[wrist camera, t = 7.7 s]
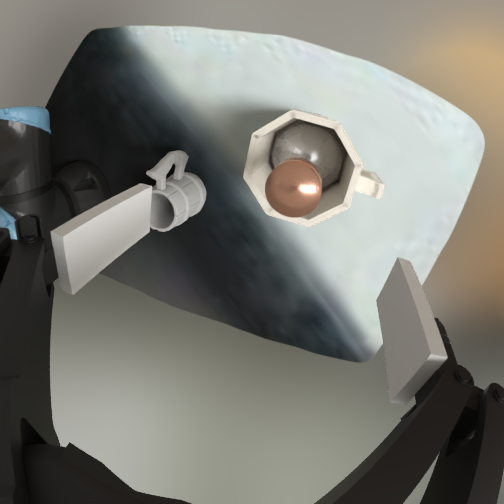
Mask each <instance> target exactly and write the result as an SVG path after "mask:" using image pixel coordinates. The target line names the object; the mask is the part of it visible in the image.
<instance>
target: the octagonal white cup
mask: <svg viewBox="0 0 504 504" xmlns="http://www.w3.org/2000/svg"><path fill="white" fill-rule="evenodd" d="M302 124H309V125H315V126H318V127H321V128H323V129H325V130H326V131H327V132H329V133H330V134H331V135H332V136H333V137H334V139H335V140H336V142H337V143H338V145H339V148H340V151H341V159H342V161H341V167H340V171H339V173H338V175H337V177H336V178H335V179H334V181H333V182H332V183H331V184H329V185H328V186H327V187H325V188H323V189H322V191H321V198H320V201H319V203H318V205H317V207H316V208H315V209H314V210H313V211H312V212H311V213H309V214H307V215H305V216H302V217H297V218H292V217H286V216H284V215H281V214H279V213H278V212H276V211H275V210H274V209H273V208H272V207H271V206H270V204H269V203H268V201H267V198H266V195H265V183H266V180H267V178H268V176H269V174H270V173H271V172H272V171H273V170H274V164H273V149H274V146H275V144H276V141H277V140H278V138H279V137H280V136H281V135H282V134H283V133H284V132H285V131H286V130H288V129H290V128H292V127H294V126H297V125H302ZM362 167H363V164H362V162H361V160H360V158H359V156H358V155H357V153H356V151H355V149H354V147H353V145H352V144H351V142H350V140H349V138H348V136H347V135H346V133H345V131H344V129H343V128H342V126H341V124H340V123H339V122H337V121H335V120H331V119H329V118H327V117H325V116H322V115H319V114H314V113H307V112H303V111H297V110H291V111H289V112H287V113H285V114H284V115H282V116H280V117H279V118H277V119H275V120H274V121H272V122H270V123H269V124H267V125H265V126H264V127H262V128H260V129H259V130H257V131H255V132H254V133H252V136H251V141H250V146H249V150H248V155H247V160H246V165H245V169H244V174H243V178H244V180H245V181H246V183H247V184H248V186H249V187H250V189H251V190H252V192H253V194H254V195H255V197H256V198H257V200H258V202H259V203H260V205H261V206H262V208H263V210H264V211H265V213H266V214H267V215H270V216H273V217H277V218H280V219H283V220H287V221H290V222H293V223H297V224H300V225H303V226H307V227H311V226H313V225H315V224H317V223H319V222H321V221H324V220H326V219H328V218H330V217H332V216H334V215H336V214H338V213H340V212H342V211H344V210H346V209H348V208H349V207H350V204H351V201H352V198H353V195H354V192H355V191H358V192H361V193H364V194H367V195H370V196H372V197H375V198H378V199H381V197H382V194H383V191H384V188H385V184H384V182H383V181H382V180H381V179H380V177H379V176H378V175H377V174H376V173H374V172H372V171H369V170H366V169H363V168H362Z"/></svg>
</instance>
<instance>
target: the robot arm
mask: <svg viewBox="0 0 504 504" xmlns="http://www.w3.org/2000/svg"><path fill="white" fill-rule="evenodd" d="M50 134H51V130H50V118H49V112H48V110H47V109H45V108H43V107H38V106H23V107H11V108H1V109H0V504H191V503H188V502H185V501H182V500H177V499H171V498H165V497H160V496H155V495H150V494H145V493H141V492H137V491H135V490H133V489H132V488H131V487H129V486H128V485H127V484H126V483H124V482H123V481H122V480H121V479H120V478H118V477H117V476H116V475H115V474H114V473H113V472H111V470H109V469H108V468H107V467H106V466H105V465H104V464H103V463H102V462H100V461H98V460H97V459H95V458H93V457H92V456H90V455H88V454H87V453H85V452H84V451H82V450H80V449H79V448H77V447H76V446H74V445H73V444H71V443H69V444H68V445H67V447H62V446H60V443H59V440H58V437H57V434H56V432H55V430H54V426H53V420H52V409H51V394H50V334H51V317H52V306H53V297H54V284H53V281H55V280H56V279H57V278H59V283H60V288H61V289H62V290H64V291H65V292H67V293H69V294H71V295H74V294H75V293H76V292H77V291H78V290H79V289H80V288H82V287H83V286H84V285H85V284H86V283H87V282H88V281H90V280H91V279H92V278H93V277H94V276H95V275H97V274H98V273H99V272H100V271H101V270H103V269H104V268H105V267H106V266H107V265H109V264H110V263H111V262H112V261H113V260H115V259H116V258H117V257H118V256H120V255H121V254H122V253H123V252H124V251H126V250H127V249H128V248H129V247H131V246H132V245H133V244H135V243H136V242H137V241H138V240H140V239H141V238H142V237H143V236H145V235H146V234H147V233H149V232H150V213H151V197H152V186H150V185H146V184H142V183H140V184H138V185H136V186H134V187H132V188H130V189H128V190H126V191H124V192H122V193H120V194H118V195H116V196H114V197H112V198H110V192H109V188H108V185H107V182H106V180H105V178H104V176H103V175H102V173H101V172H100V170H99V169H98V168H97V167H96V166H95V165H93V164H92V163H90V162H88V161H83V160H80V161H76V162H73V163H70V164H68V165H67V166H65V167H64V168H63V169H62V170H61V171H60V172H58V173H57V174H56V175H55V176H54V177H53V178H52V170H51V150H50ZM376 301H377V307H378V313H379V319H380V325H381V331H382V338H383V345H384V352H385V360H386V367H387V377H388V387H389V399H390V402H392V403H398V404H407V403H408V402H409V401H410V400H411V399H412V398H413V397H414V396H415V399H416V404H415V405H414V406H413V407H412V408H411V409H410V410H409V411H408V412H407V413H406V414H405V415H404V416H403V417H402V418H401V422H400V423H399V424H398V425H397V426H396V427H395V428H394V429H393V431H392V432H391V433H390V434H389V435H388V436H387V437H386V438H385V439H384V441H383V442H382V443H381V444H380V445H379V446H378V447H377V448H376V449H375V450H374V451H373V452H372V453H371V454H370V455H369V456H368V457H367V458H366V459H365V460H364V461H363V462H362V463H361V464H360V465H359V466H358V467H357V468H356V469H355V470H354V471H353V472H351V474H349V475H348V476H347V477H346V478H345V479H344V480H342V481H341V482H340V483H339V484H338V485H337V486H335V487H334V488H333V489H332V490H331V491H330V492H328V493H327V494H326V495H325V496H323V497H322V498H321V499H320V500H318V501H317V502H316V503H314V504H403V503H404V501H405V500H406V499H407V498H408V496H409V495H410V494H411V493H412V491H413V490H414V488H415V487H416V486H417V484H418V483H419V482H420V480H421V479H422V478H423V476H424V475H425V473H426V472H427V471H428V469H429V468H430V466H431V465H432V463H433V462H434V460H435V458H436V457H437V455H438V454H439V456H438V459H437V462H436V465H435V467H434V471H433V473H432V476H431V478H430V481H429V483H428V486H427V489H426V491H425V493H424V495H423V498H422V500H421V502H420V504H496V503H497V499H498V495H499V490H500V485H501V481H502V475H503V469H504V388H503V387H501V386H500V385H499V384H497V383H491V384H490V385H489V386H488V387H487V388H486V389H485V390H482V389H480V388H478V387H476V386H474V381H473V377H472V376H471V374H470V373H469V371H468V370H467V369H466V368H464V367H463V366H461V365H458V364H457V362H456V358H455V355H454V352H453V350H452V347H451V344H450V341H449V338H448V337H447V333H446V330H445V328H444V326H443V325H442V323H441V322H440V321H439V319H438V318H434V316H433V314H432V311H431V309H430V306H429V304H428V301H427V299H426V296H425V294H424V291H423V289H422V287H421V284H420V282H419V280H418V277H417V275H416V273H415V271H414V268H413V266H412V264H411V262H410V261H408V260H405V259H402V258H399V257H398V258H397V260H396V262H395V264H394V266H393V268H392V270H391V272H390V274H389V277H388V279H387V281H386V283H385V285H384V287H383V289H382V291H381V292H380V294H379V296H378V298H377V300H376ZM439 452H440V453H439Z"/></svg>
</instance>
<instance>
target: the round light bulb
mask: <svg viewBox="0 0 504 504" xmlns="http://www.w3.org/2000/svg"><path fill="white" fill-rule="evenodd" d="M341 161H342V159H341V151H340V148H339V145H338V143H337V142H336V140H335V139H334V137H333V136H332V135H331V134H330V133H329V132H327V131H326V130H325V129H323V128H321V127H318V126H315V125H309V124H302V125H297V126H294V127H292V128H290V129H288V130H286V131H285V132H284V133H283V134H282V135H281V136H280V137H279V138H278V140H277V141H276V144H275V146H274V149H273V164H274V170H273V171H272V172H271V173H270V174H269V176H268V178H267V180H266V183H265V195H266V198H267V201H268V203H269V204H270V206H271V207H272V208H273V209H274V210H275V211H276V212H278V213H279V214H281V215H284V216H286V217H292V218H297V217H302V216H305V215H307V214H309V213H311V212H312V211H313V210H314V209H315V208H316V207H317V205H318V203H319V201H320V198H321V191H322V189H323V188H325V187H327V186H328V185H329V184H331V183H332V182H333V181H334V179H335V178H336V177H337V175H338V173H339V171H340V167H341Z"/></svg>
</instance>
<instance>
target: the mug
mask: <svg viewBox="0 0 504 504" xmlns="http://www.w3.org/2000/svg"><path fill="white" fill-rule="evenodd" d="M187 161H188V155H186V153H185V152H183V151H180V150H176V151H171V152H169V153H167V155H166V156H165V157H164V158H163V159H161V160H160V162H159V163H158V164H156V165H155V167H154V168H152V169H151V170H149V171H147V172H146V174H147V175H148V176H150V177H151V178H152V179H155V180H156V185H155V186H154V187H153V188H152V197H151V213H150V227H151V228H152V229H157V230H158V231H162V232H164V231H168V230H170V229H172V228H173V227H175V226H178V225H180V224H182V223H183V222H184V221H186V220H187V219H188V217H191V216H193V215H195V214H196V213H198V212H199V211H200V210H201V208H202V207H203V205H204V202H205V200H206V197H205V196H206V189H205V186H204V184H203V182H202V180H201V179H200V178H198V176H196V175H195V174H192V173H189V172H184V169H185V166H186V163H187ZM172 164H175V165H176V166H175V171H174V174H173V175H171V176H170V177H168V178H167V179H166V174H168V172H169V170H170V169H171V167H172Z"/></svg>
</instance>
